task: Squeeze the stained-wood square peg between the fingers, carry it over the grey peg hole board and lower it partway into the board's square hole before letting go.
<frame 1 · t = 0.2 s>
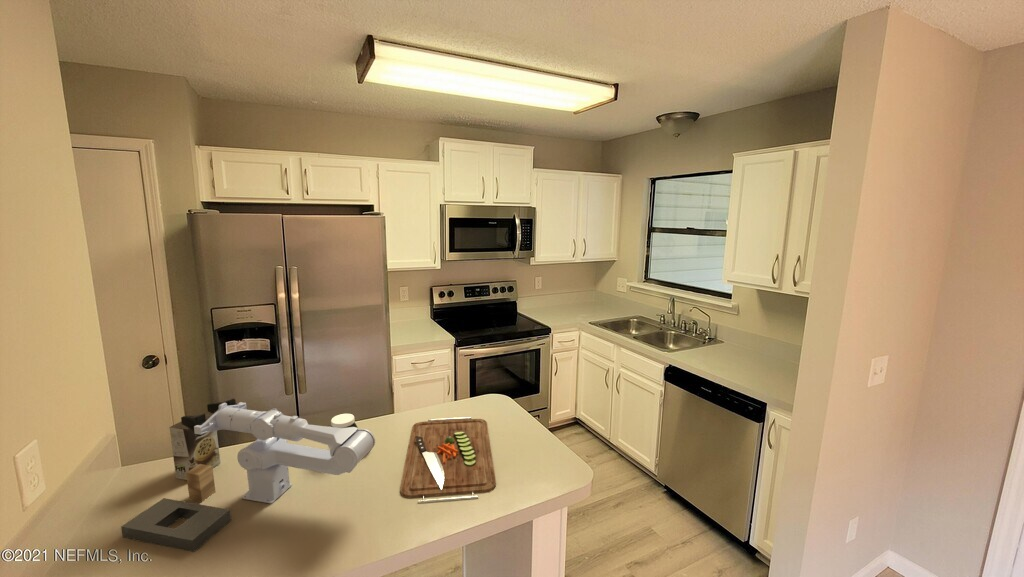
hand: (195, 413, 114), 21 cm above the counter, tool horizontal, fingers open, 7 cm apart
coffee box: (199, 471, 123), on the counter
chopping board: (449, 455, 134), on the counter
grey peg hole board: (178, 528, 101), on the counter
spread jar: (351, 451, 134), on the counter
square peg: (202, 496, 112), on the counter
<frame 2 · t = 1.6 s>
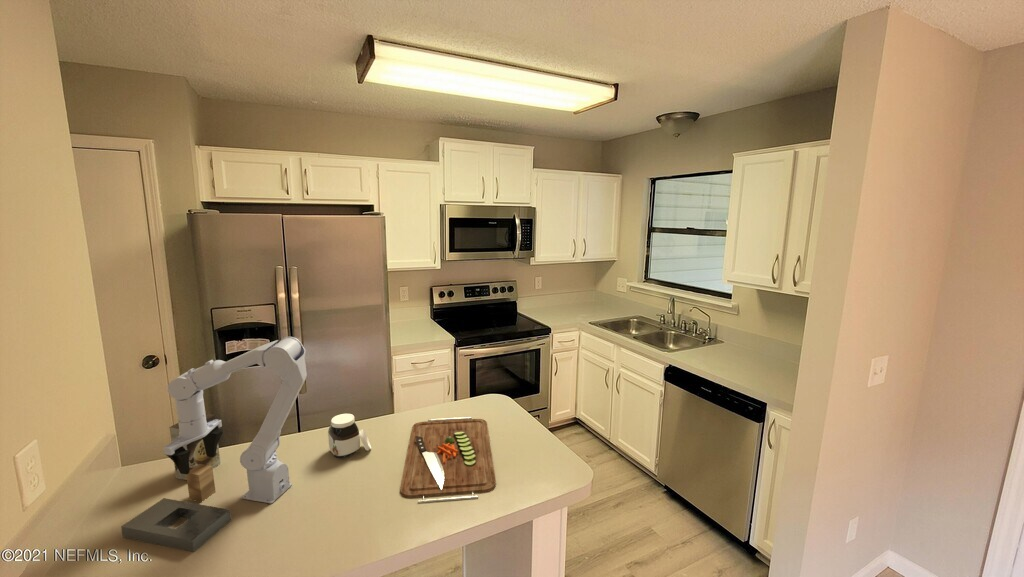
hand: (198, 464, 110), 9 cm above the counter, tool pointing down, fingers open, 7 cm apart
nothing on the counter moved.
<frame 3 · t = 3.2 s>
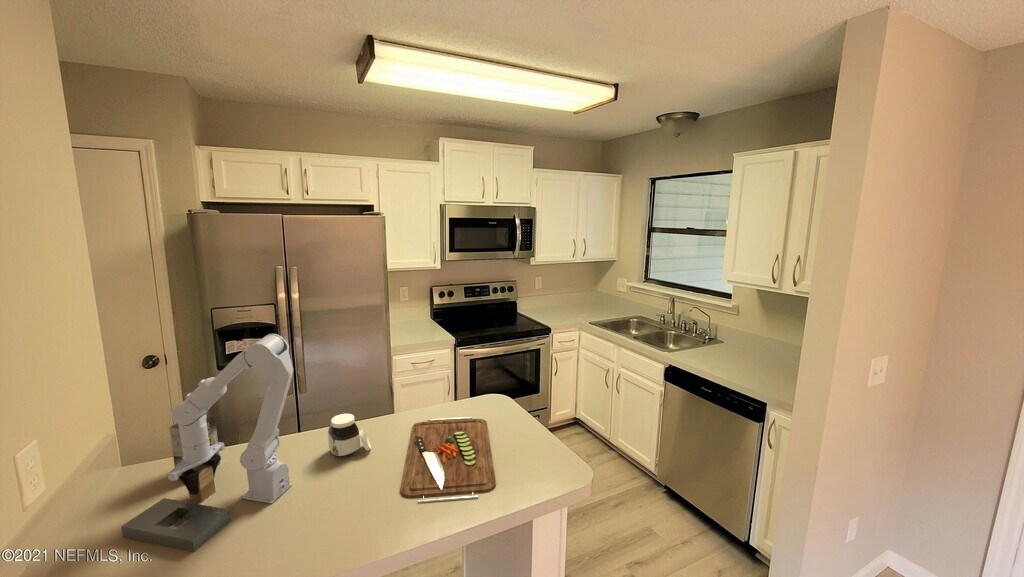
hand: (201, 487, 112), 2 cm above the counter, tool pointing down, fingers closed on square peg, 4 cm apart
square peg: (202, 495, 112), on the counter, touching gripper
everything else where it was.
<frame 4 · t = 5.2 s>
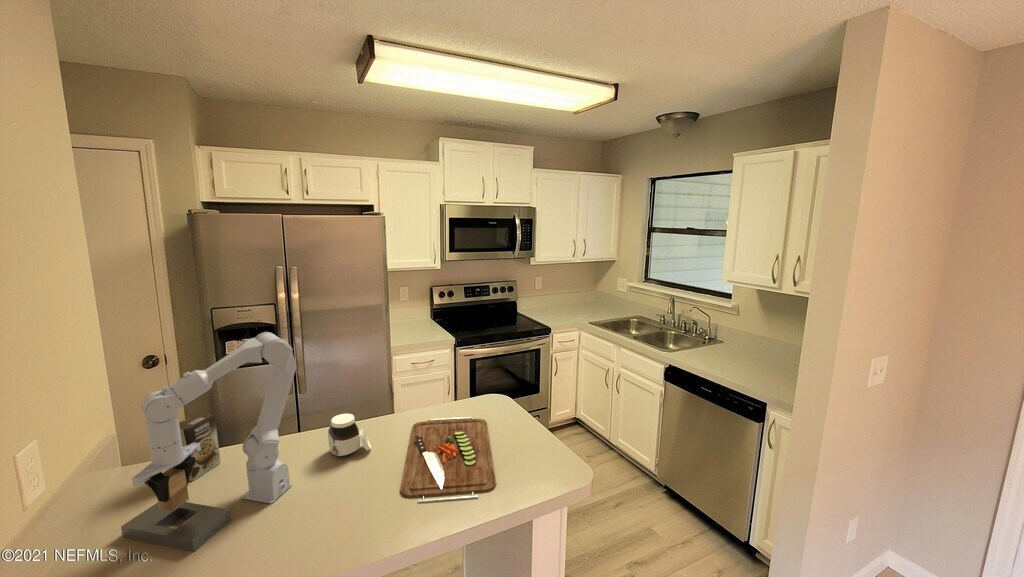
hand: (173, 494, 99), 9 cm above the counter, tool pointing down, fingers closed on square peg, 4 cm apart
square peg: (174, 503, 99), point 7 cm above the counter, touching gripper
everything else where it was.
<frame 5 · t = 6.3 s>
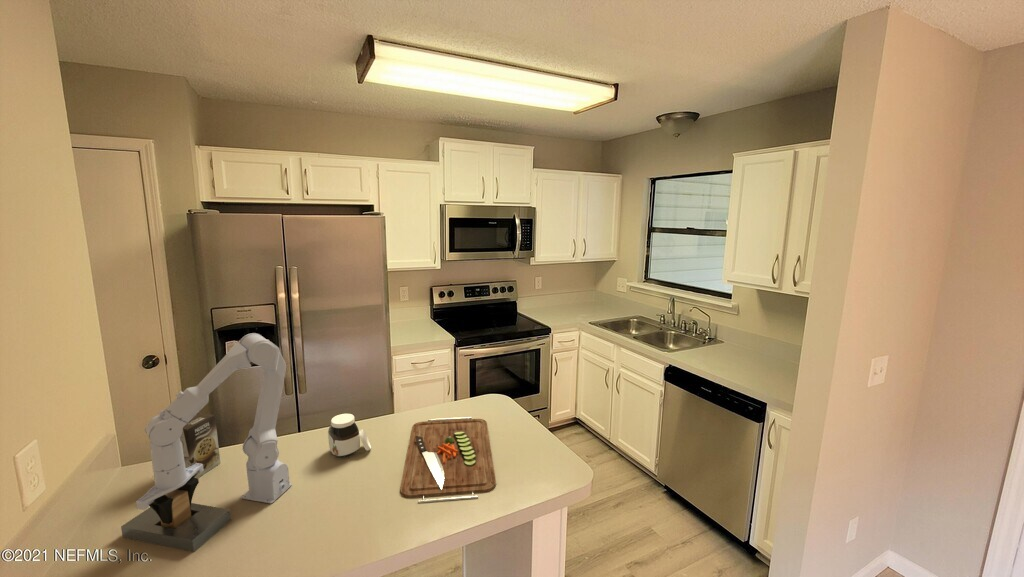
hand: (176, 515, 100), 4 cm above the counter, tool pointing down, fingers closed on square peg, 4 cm apart
square peg: (177, 524, 100), point 1 cm above the counter, touching gripper
everything else where it was.
when the fingers open (4 cm above the counter, at t = 7.1 s): square peg drops 1 cm, resting in grey peg hole board.
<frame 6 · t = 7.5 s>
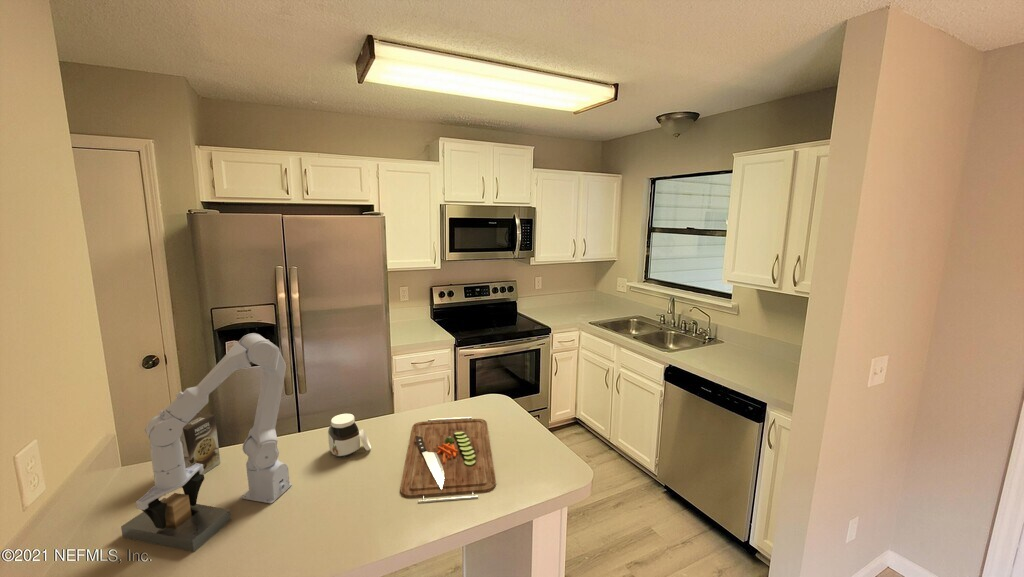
hand: (176, 515, 100), 4 cm above the counter, tool pointing down, fingers open, 7 cm apart
square peg: (178, 528, 101), resting in grey peg hole board
everything else where it was.
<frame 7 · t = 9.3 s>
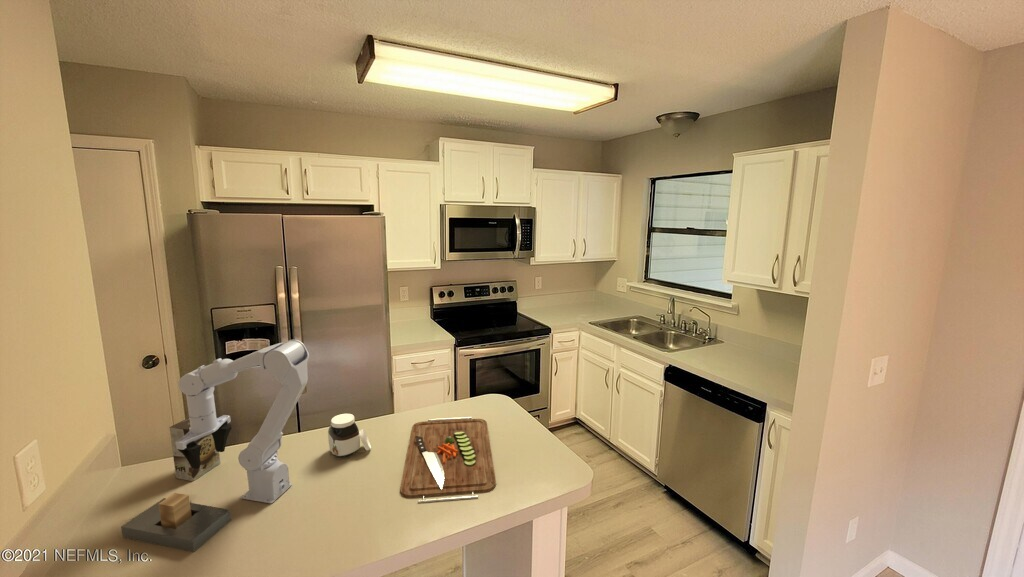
hand: (208, 459, 113), 9 cm above the counter, tool pointing down, fingers open, 7 cm apart
nothing on the counter moved.
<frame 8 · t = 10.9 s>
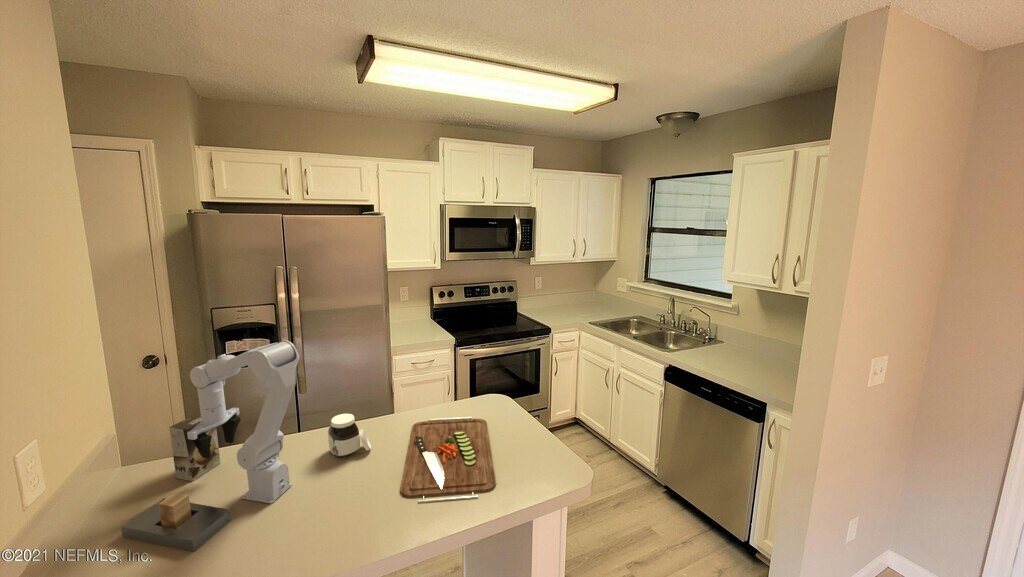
hand: (218, 449, 117), 9 cm above the counter, tool pointing down, fingers open, 7 cm apart
nothing on the counter moved.
at the end: square peg 0.2 cm off-centre on the grey peg hole board, point 0.0 cm above the grey peg hole board's base; square peg tilted 0°; the gripper is holding nothing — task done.
